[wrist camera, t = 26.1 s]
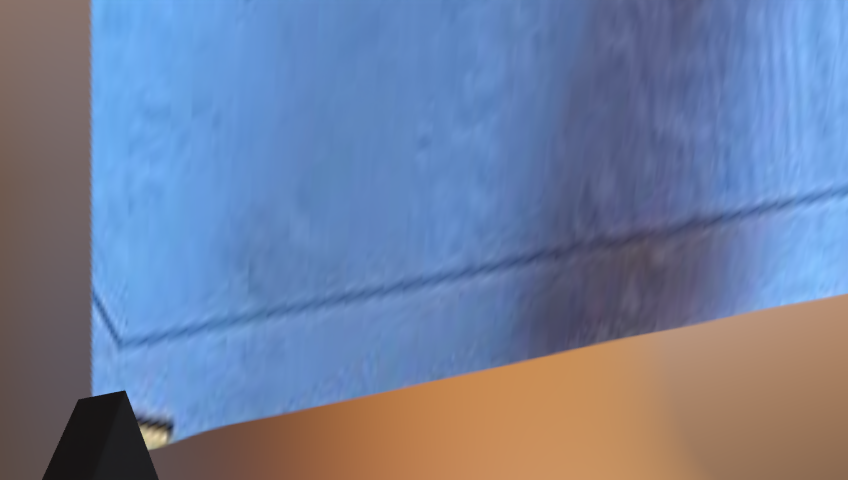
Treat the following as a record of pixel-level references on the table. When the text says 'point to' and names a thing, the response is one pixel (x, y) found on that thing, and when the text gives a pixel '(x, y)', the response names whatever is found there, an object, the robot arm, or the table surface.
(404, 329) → the table surface
